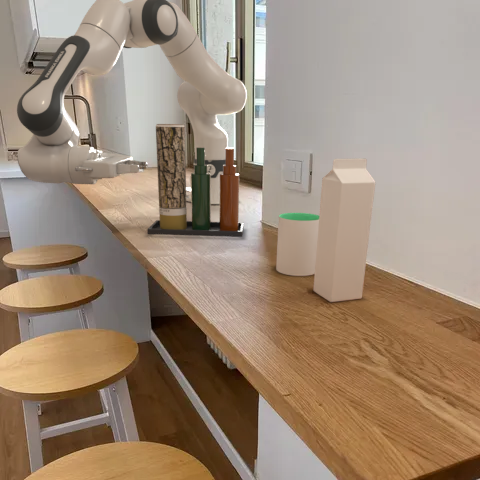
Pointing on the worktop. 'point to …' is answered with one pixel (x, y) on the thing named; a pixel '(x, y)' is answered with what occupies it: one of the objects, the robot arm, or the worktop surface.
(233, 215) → the amber bottle
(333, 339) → the worktop surface
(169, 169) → the paper tube
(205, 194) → the green bottle
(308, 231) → the mug
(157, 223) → the tray
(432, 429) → the worktop surface
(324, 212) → the milk
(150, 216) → the worktop surface
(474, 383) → the worktop surface
